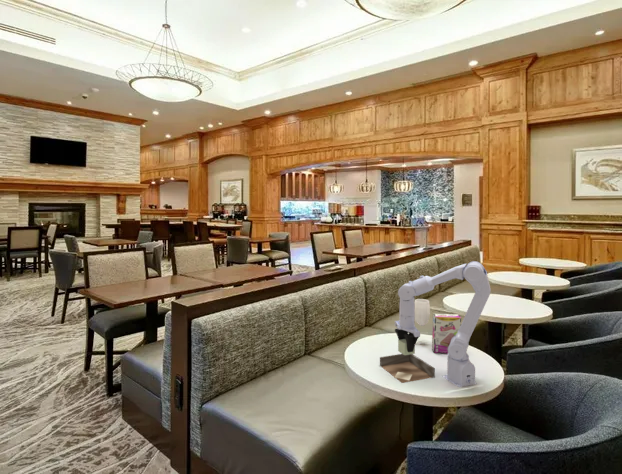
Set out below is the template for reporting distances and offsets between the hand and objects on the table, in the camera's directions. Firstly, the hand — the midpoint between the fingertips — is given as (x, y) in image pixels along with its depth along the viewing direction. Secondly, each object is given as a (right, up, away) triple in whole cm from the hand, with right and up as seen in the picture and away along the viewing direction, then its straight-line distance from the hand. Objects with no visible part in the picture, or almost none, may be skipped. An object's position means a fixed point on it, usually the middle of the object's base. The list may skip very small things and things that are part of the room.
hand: (406, 349), depth 147 cm
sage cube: (0, -1, 0) cm, 1 cm away
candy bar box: (+22, -7, +19) cm, 30 cm away
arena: (0, -9, -1) cm, 9 cm away
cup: (+14, -6, +28) cm, 32 cm away
